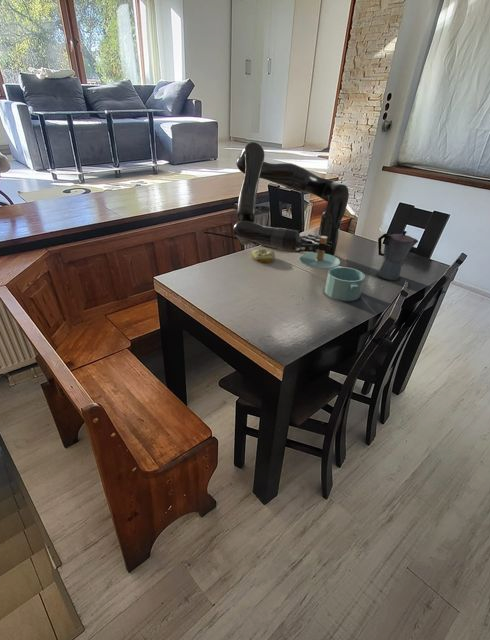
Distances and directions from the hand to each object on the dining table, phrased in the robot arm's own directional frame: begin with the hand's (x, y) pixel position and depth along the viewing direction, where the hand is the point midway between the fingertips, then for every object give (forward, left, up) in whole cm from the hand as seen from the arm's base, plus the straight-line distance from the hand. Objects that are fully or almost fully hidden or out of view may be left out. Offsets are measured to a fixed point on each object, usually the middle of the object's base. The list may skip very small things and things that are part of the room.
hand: (330, 246), depth 130 cm
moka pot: (+10, +38, -20) cm, 44 cm away
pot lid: (-3, -1, -6) cm, 7 cm away
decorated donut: (-40, +13, -20) cm, 47 cm away
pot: (+5, +8, -20) cm, 22 cm away
